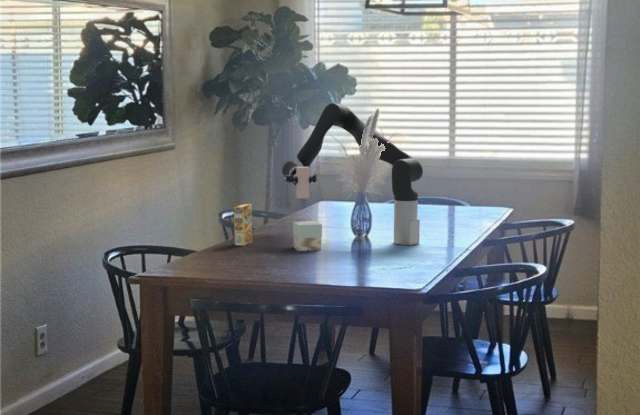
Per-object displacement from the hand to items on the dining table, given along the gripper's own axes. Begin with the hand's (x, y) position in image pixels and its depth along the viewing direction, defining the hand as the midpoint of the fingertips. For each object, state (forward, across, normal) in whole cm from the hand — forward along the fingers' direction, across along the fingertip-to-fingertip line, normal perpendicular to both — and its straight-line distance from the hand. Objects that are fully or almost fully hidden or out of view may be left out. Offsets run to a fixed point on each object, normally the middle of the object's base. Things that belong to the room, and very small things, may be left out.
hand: (303, 180), depth 372 cm
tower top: (+12, 0, +20) cm, 23 cm away
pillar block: (-3, 0, +7) cm, 8 cm away
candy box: (-1, -24, +25) cm, 34 cm away
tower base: (+12, 0, +25) cm, 28 cm away
